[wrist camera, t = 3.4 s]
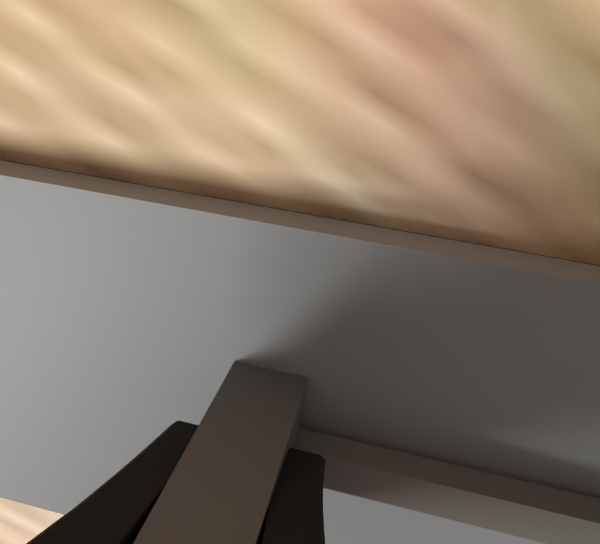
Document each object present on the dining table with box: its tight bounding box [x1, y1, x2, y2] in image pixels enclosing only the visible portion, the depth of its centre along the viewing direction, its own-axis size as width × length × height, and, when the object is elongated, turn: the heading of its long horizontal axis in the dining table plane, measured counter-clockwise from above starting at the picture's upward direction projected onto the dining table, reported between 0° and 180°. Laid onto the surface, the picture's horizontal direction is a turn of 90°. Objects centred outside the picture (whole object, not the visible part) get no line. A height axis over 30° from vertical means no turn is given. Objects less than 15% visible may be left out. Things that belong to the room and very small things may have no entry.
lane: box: [0, 160, 600, 544], centre depth 9 cm, size 9×28×3 cm, turn 83°
